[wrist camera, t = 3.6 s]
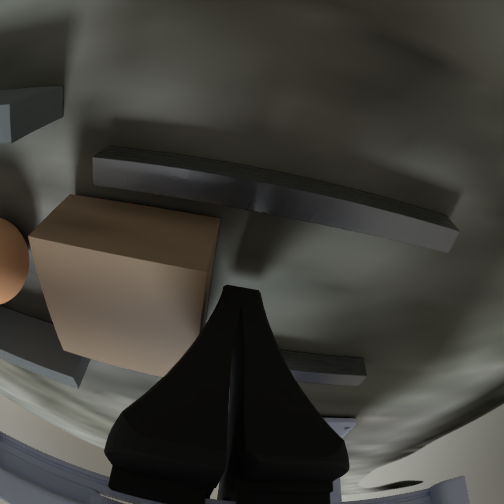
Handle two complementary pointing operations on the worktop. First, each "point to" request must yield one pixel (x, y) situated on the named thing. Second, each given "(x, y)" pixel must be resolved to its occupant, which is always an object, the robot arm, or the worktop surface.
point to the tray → (6, 320)
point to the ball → (12, 261)
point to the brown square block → (125, 280)
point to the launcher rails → (281, 204)
